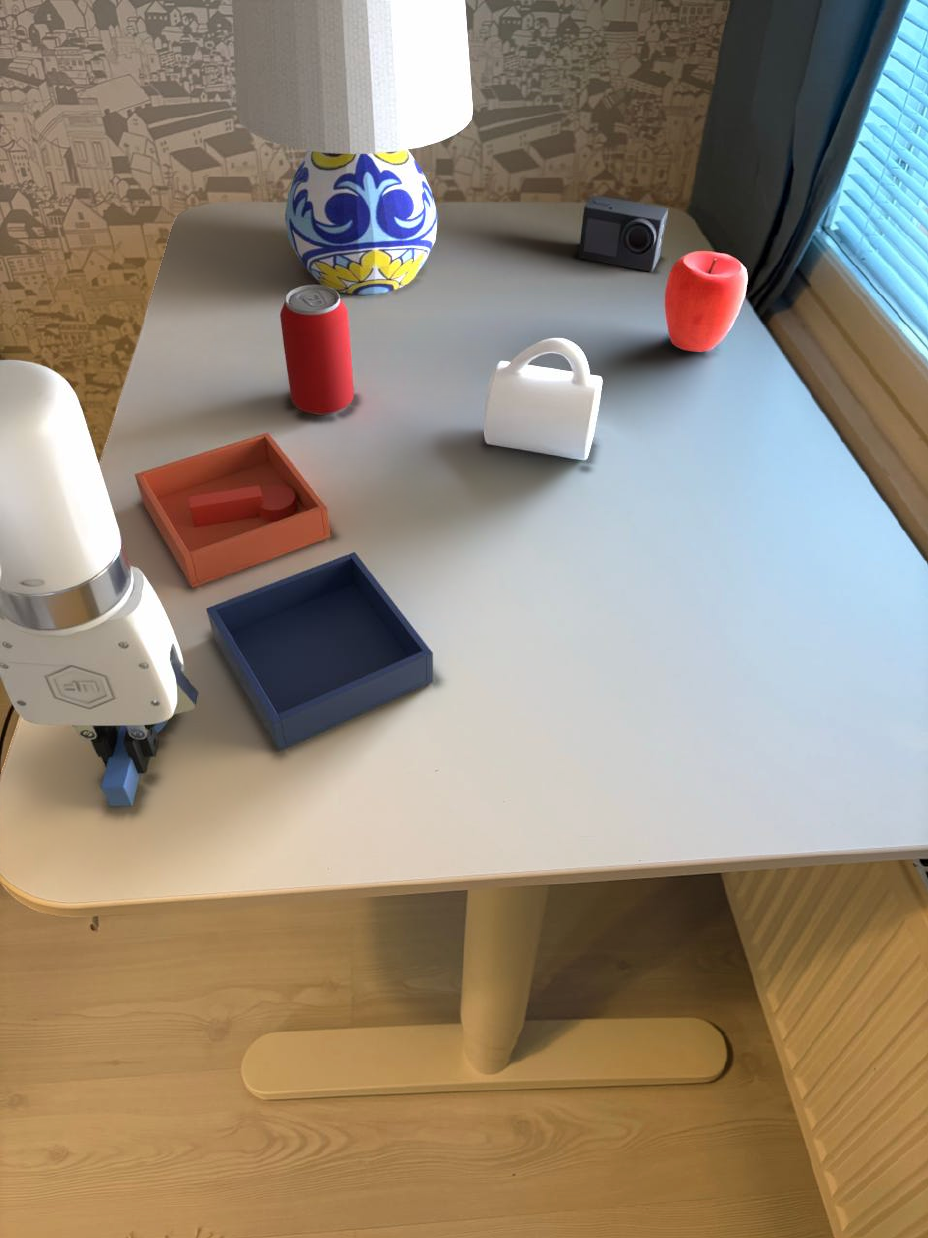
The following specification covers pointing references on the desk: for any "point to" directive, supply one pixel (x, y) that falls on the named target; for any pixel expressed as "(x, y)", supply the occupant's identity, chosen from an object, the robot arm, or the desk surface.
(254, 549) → the red bin
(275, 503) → the red spoon
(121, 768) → the blue spoon
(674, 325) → the apple
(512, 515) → the desk surface
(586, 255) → the digital camera
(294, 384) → the beverage can
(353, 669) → the blue bin
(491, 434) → the white handbag
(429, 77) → the table lamp
